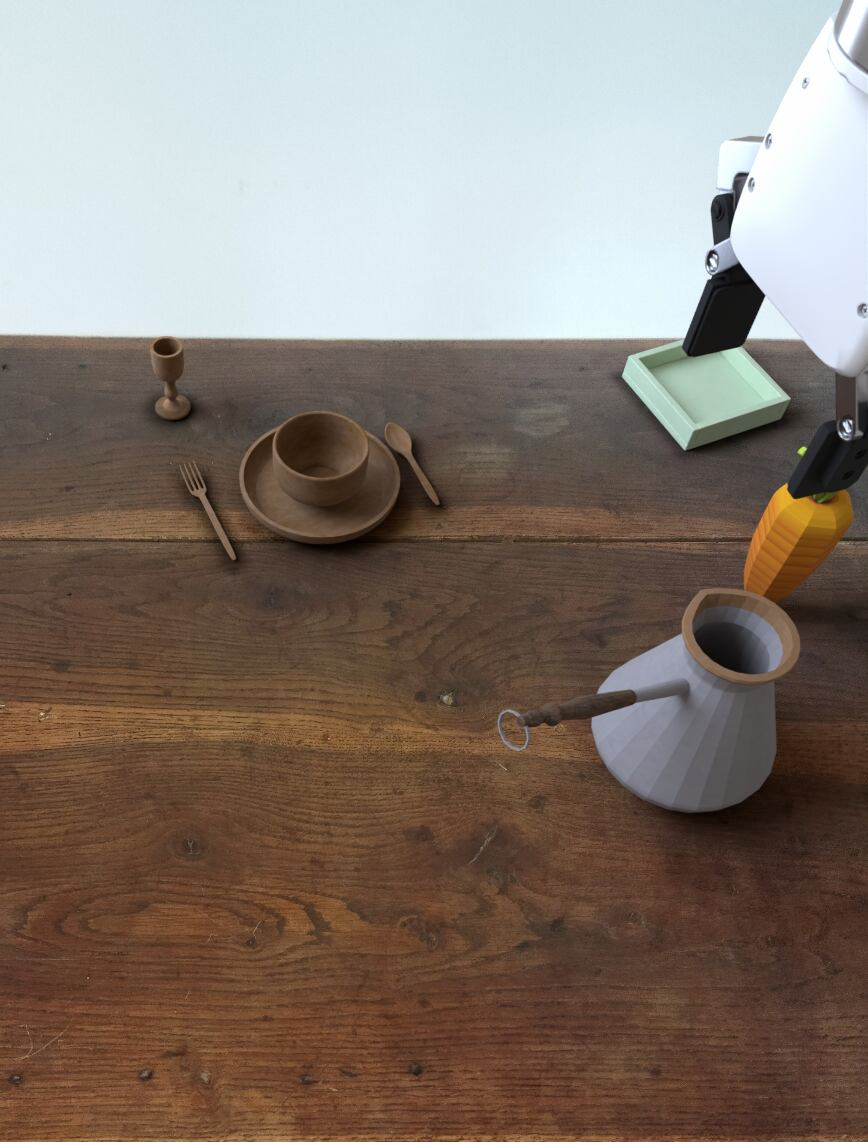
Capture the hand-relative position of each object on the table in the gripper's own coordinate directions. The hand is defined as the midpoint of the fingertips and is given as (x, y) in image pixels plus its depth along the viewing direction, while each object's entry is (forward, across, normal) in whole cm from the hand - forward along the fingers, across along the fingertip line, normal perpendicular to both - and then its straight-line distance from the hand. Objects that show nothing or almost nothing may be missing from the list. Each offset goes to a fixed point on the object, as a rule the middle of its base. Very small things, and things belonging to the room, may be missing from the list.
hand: (762, 415), depth 50 cm
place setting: (+25, +28, +14) cm, 40 cm away
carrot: (+25, +4, -12) cm, 28 cm away
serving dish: (+25, +25, -20) cm, 40 cm away
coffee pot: (+25, -5, +4) cm, 26 cm away
